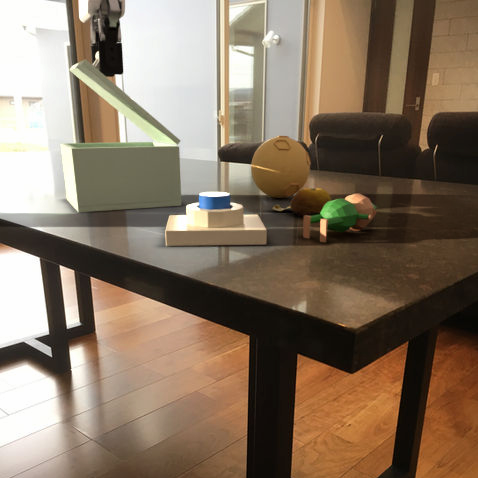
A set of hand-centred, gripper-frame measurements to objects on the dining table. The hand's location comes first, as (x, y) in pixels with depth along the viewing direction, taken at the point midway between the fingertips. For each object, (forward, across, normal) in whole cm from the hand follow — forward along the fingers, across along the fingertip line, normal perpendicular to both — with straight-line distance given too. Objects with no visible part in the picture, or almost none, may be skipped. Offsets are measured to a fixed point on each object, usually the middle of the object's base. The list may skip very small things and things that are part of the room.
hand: (107, 73), depth 76 cm
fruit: (+18, +19, +24) cm, 36 cm away
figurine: (+18, +33, +21) cm, 43 cm away
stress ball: (+18, +5, +27) cm, 33 cm away
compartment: (+19, 0, +1) cm, 19 cm away
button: (+15, +28, +6) cm, 33 cm away
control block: (+19, +28, +6) cm, 34 cm away
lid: (+4, 0, +2) cm, 5 cm away
